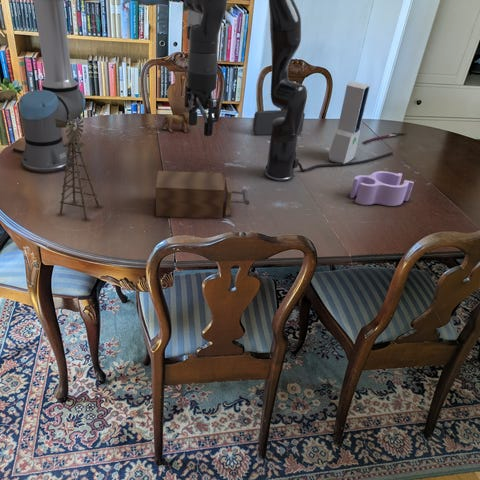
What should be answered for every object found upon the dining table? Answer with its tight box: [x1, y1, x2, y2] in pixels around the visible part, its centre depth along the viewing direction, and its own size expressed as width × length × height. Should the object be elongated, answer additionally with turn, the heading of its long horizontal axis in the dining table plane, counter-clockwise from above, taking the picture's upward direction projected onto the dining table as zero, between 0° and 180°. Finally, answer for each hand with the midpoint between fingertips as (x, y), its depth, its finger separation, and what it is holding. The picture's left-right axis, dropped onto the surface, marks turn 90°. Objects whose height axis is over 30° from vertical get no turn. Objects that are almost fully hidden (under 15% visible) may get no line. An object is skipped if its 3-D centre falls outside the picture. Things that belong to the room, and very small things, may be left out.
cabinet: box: [155, 170, 225, 219], centre depth 140 cm, size 20×11×10 cm, turn 95°
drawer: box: [223, 176, 251, 216], centre depth 141 cm, size 24×10×8 cm, turn 95°
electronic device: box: [328, 80, 371, 164], centre depth 179 cm, size 12×8×30 cm, turn 148°
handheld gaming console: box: [252, 109, 306, 136], centre depth 203 cm, size 23×3×10 cm, turn 108°
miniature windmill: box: [55, 109, 100, 220], centre depth 128 cm, size 9×8×30 cm
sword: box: [363, 132, 408, 145], centre depth 213 cm, size 31×3×1 cm, turn 126°
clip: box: [349, 170, 415, 207], centre depth 159 cm, size 20×12×7 cm, turn 109°
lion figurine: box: [159, 108, 189, 133], centre depth 195 cm, size 15×5×9 cm, turn 110°
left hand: (196, 97), depth 151 cm, fingers open, 13 cm apart
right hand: (200, 130), depth 128 cm, fingers open, 8 cm apart
